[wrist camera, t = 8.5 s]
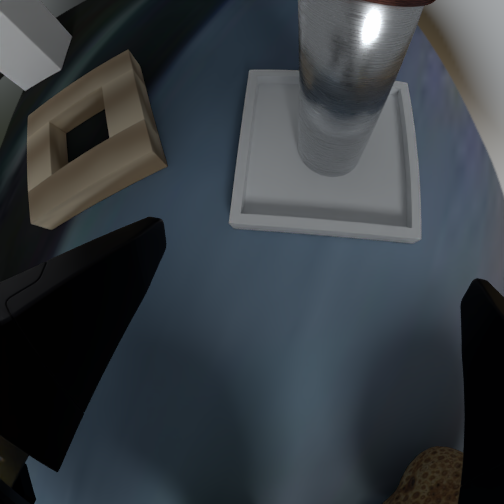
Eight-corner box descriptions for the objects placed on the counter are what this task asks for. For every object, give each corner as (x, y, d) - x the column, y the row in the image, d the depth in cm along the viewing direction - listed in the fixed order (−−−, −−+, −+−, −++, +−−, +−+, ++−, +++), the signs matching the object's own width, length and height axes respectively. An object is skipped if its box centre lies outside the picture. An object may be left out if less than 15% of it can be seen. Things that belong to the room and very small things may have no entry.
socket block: (167, 166, 21) (152, 151, 18) (51, 230, 21) (30, 223, 19) (140, 66, 22) (128, 49, 20) (44, 127, 23) (28, 116, 21)
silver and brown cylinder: (340, 196, 18) (422, -7, 4) (277, 153, 19) (248, -64, 5) (378, 143, 18) (462, -44, 4) (319, 105, 19) (332, -94, 5)
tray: (412, 243, 18) (421, 239, 16) (234, 228, 19) (228, 223, 18) (402, 94, 19) (407, 83, 17) (252, 82, 21) (249, 69, 19)
